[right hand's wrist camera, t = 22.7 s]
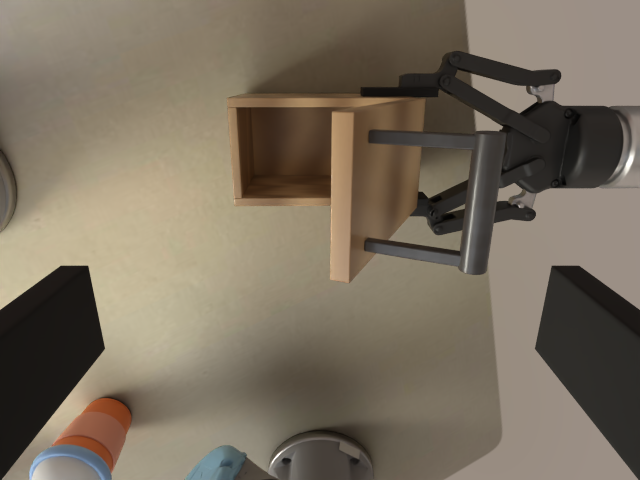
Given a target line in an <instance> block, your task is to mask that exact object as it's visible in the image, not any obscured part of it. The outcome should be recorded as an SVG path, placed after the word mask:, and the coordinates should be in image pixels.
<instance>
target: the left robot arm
mask: <svg viewBox="0 0 640 480" xmlns="http://www.w3.org/2000/svg"><path fill="white" fill-rule="evenodd" d="M457 70H461V71H465V72H468V73H472V74H476V75H480V76H483V77H487V78H491V79H494V80H499V81H502V82H506V83H510V84H513V85H520V86H526V90H527V92H528V93H529V94H532V95H535V96H536V97H537V102H536V103H534V104H533V105H531V106H530V107H528V108H527V109H525V110H524V111H522V112H521V113H520V114H519V113H517V112H515V111H513V110H511V109H509V108H507V107H505V106H503V105H502V104H500V103H498V102H496V101H495V100H493V99H491V98H490V97H488V96H486V95H485V94H483V93H481V92H479V91H478V90H476V89H474V88H473V87H471V86H469V85H468V84H466V83H464V82H462V81H461V80H459V79H457V78H456V77H455V75H456V72H457ZM560 79H561V73H560V71H559V70H556V69H553V70H536V71H530V70H527V69H523V68H519V67H515V66H512V65H508V64H505V63H501V62H497V61H493V60H490V59H486V58H482V57H478V56H475V55H471V54H468V53H464V52H460V51H454V52H449V53H446V54H445V55H444V56H443V58H442V64H441V66H440V68H439V70H438V71H437V72H435V73H433V74H403V75H401V76H399V87H361V96H363V97H438V91H439V89H440V90H442V91H444V92H445V93H447V94H449V95H451V96H452V97H454V98H456V99H457V100H459V101H461V102H463V103H464V104H466V105H468V106H470V107H471V108H473V109H475V110H477V111H478V112H480V113H482V114H484V115H485V116H487V117H489V118H490V119H492V120H493V121H495V122H496V123H498V124H500V125H502V126H503V128H502V130H500V131H499V132H505V133H506V134H507V135H506V142H505V149H504V156H503V162H502V169H501V176H500V183H499V188H504V187H506V186H508V185H511V184H513V183H516V184H517V185H518V186H519V187H521V188H522V189H523V190H522V192H521V193H520V194H519V195H516V196H512V197H510V198H509V201H499V202H497V203H496V210H495V217H494V223H496V222H501V221H505V220H510V219H513V220H522V221H531V220H533V219H534V218H535V216H536V212H535V211H534V210H533V209H532V207H533V204H534V200H535V197H536V193H539V192H541V191H543V190H546V189H549V188H596V187H600V188H640V106H611V107H609V108H608V107H606V106H561V105H559V104H558V103H556V102H554V101H553V98H554V84H556V83H557V82H559V80H560ZM468 181H469V179H468V180H466V181H464V182H462V183H460V184H458V185H456V186H454V187H452V188H450V189H447V190H445V191H443V192H441V193H439V194H437V195H435V196H433V197H431V198H429V199H428V197H427V196H426V195H425V194H424V193H423V192H418V199H417V208H416V209H415V210H414V211H413V212H412V214H411V215H410V216H425V217H426V218H427V221H428V222H427V223H428V225H429V227H430V228H431V229H432V231H433V232H434V233H435V234H436V235H443V234H447V233H452V232H456V231H461V230H463V222H464V213H465V209H462V210H458V211H453V212H449V213H446V212H448V211H451V210H453V209H455V208H457V207H459V206H461V205H463V204H465V203H466V197H467V189H468ZM444 213H445V214H444ZM246 456H247V454H246V453H244V452H240V451H239V450H237V449H236V448H234V447H233V446H230V445H224V446H220V447H218V448H216V449H214V450H213V451H211V452H210V453H209V454H207V455H206V456H205V457H204V458H203V459H202V460H201V461H200V462H199V463H198V464H197V465H196V466H195V467H194V468H193V469H192V471H191V472H190V473H189V474H188V476H187V477H186V478H185V479H184V480H374V475H373V468H372V462H371V459H370V457H369V455H368V453H367V452H366V450H365V449H364V448H363V447H362V446H361V445H360V444H359V443H357V442H356V441H355V440H353V439H351V438H349V437H347V436H345V435H342V434H339V433H335V432H329V431H312V432H306V433H302V434H299V435H296V436H294V437H292V438H290V439H288V440H287V441H285V442H284V443H282V444H281V445H280V446H279V447H278V448H277V449H276V451H275V452H274V454H273V455H272V457H271V460H270V463H269V469H268V473H267V472H265V471H264V470H262V469H261V468H260V467H258V466H257V465H256V464H254V463H253V462H252V461H251V460H249V459H248V458H247V457H246Z"/></svg>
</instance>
